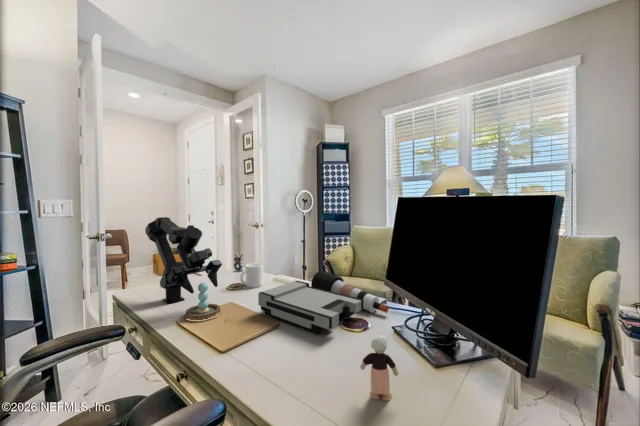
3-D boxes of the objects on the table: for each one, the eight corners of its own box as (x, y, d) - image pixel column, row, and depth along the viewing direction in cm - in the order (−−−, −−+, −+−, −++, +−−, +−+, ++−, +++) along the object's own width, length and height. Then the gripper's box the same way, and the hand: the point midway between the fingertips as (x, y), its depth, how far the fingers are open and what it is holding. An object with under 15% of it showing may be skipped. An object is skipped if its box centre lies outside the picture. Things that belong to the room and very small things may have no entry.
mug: (245, 291, 127) (245, 269, 127) (235, 287, 133) (235, 266, 132) (266, 285, 136) (266, 264, 135) (256, 282, 141) (256, 262, 141)
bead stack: (197, 311, 100) (196, 282, 100) (208, 309, 102) (208, 280, 102) (197, 314, 97) (197, 284, 97) (209, 312, 99) (209, 283, 98)
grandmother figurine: (394, 389, 60) (395, 332, 59) (399, 402, 56) (399, 341, 55) (359, 388, 60) (359, 331, 60) (361, 401, 56) (361, 340, 56)
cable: (382, 329, 98) (377, 309, 94) (314, 297, 121) (308, 280, 117) (395, 310, 104) (392, 290, 100) (329, 283, 127) (323, 266, 123)
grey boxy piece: (328, 341, 81) (329, 314, 81) (258, 314, 101) (258, 292, 100) (363, 318, 97) (363, 296, 97) (296, 299, 117) (296, 280, 117)
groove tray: (179, 315, 99) (179, 310, 99) (210, 306, 108) (210, 301, 108) (194, 325, 91) (194, 319, 91) (227, 314, 100) (227, 308, 100)
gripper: (170, 245, 93) (188, 282, 87) (219, 239, 109) (236, 271, 102) (160, 264, 98) (176, 301, 92) (207, 256, 113) (224, 288, 107)
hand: (205, 289), depth 98 cm, fingers open, 9 cm apart
